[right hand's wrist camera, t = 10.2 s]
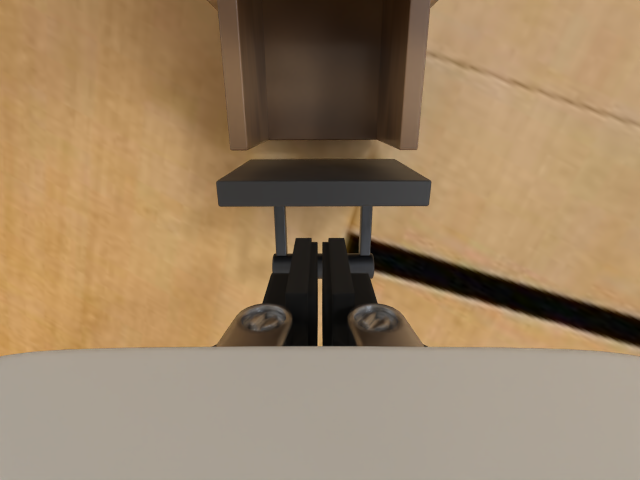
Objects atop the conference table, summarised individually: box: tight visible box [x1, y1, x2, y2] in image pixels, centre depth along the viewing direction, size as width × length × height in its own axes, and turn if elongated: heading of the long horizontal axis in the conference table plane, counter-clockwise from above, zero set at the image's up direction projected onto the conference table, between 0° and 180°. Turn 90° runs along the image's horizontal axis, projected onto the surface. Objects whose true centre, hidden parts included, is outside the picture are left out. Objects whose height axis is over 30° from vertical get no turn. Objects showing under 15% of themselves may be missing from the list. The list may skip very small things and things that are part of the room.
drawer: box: [216, 0, 431, 279], centre depth 18 cm, size 19×10×8 cm, turn 0°
